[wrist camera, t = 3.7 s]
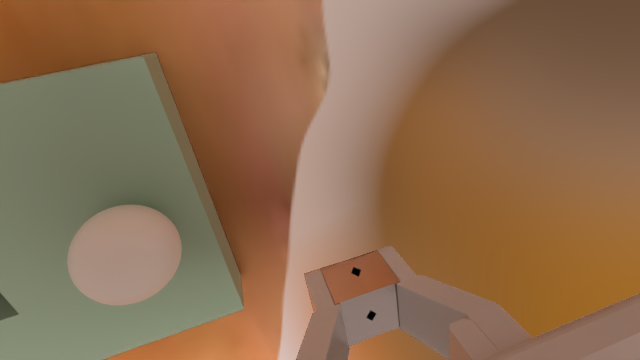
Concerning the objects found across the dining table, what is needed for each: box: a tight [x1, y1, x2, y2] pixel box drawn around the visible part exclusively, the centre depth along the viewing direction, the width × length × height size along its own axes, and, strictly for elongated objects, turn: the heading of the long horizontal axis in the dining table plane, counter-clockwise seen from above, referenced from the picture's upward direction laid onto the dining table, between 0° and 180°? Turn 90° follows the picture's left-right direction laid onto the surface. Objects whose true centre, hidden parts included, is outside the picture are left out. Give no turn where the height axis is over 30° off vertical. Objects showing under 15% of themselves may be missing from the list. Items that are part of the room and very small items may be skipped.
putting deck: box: [0, 52, 244, 360], centre depth 15 cm, size 14×16×3 cm
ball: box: [67, 205, 182, 305], centre depth 13 cm, size 4×4×4 cm
